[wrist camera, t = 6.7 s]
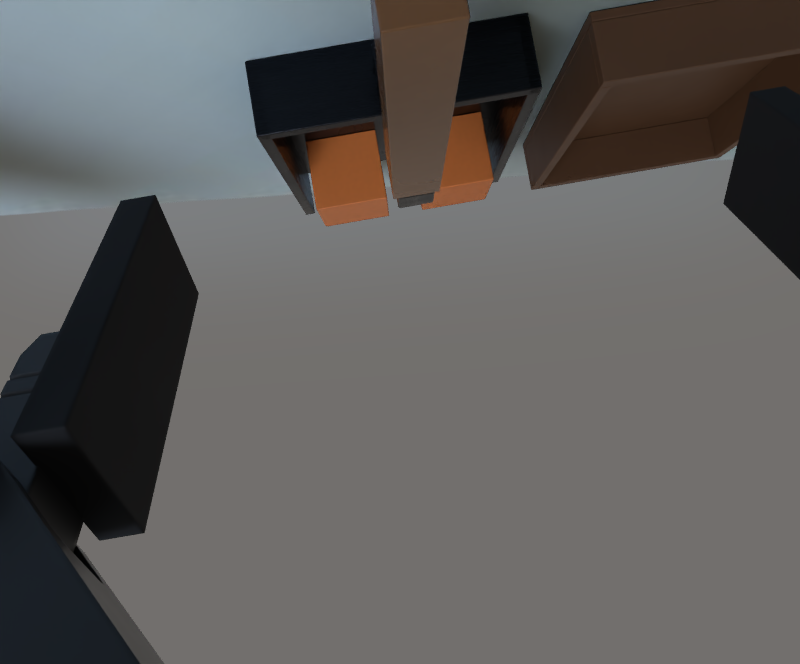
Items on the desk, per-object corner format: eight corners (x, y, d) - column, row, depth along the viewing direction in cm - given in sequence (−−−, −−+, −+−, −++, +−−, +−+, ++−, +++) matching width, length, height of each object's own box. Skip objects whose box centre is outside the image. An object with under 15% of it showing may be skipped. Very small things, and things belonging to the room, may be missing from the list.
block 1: (305, 141, 37) (316, 210, 37) (375, 129, 37) (386, 197, 37) (315, 164, 41) (325, 226, 41) (378, 154, 41) (389, 215, 41)
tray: (589, 11, 30) (603, 82, 29) (885, -40, 30) (902, 31, 29) (522, 144, 47) (531, 190, 46) (709, 112, 47) (719, 157, 46)
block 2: (411, 122, 37) (423, 191, 37) (481, 110, 37) (494, 179, 37) (411, 148, 41) (422, 210, 41) (473, 137, 41) (485, 199, 41)
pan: (75, -263, 14) (125, 76, 14) (653, -362, 14) (725, -27, 14) (297, 163, 43) (316, 278, 42) (488, 130, 43) (509, 244, 42)
